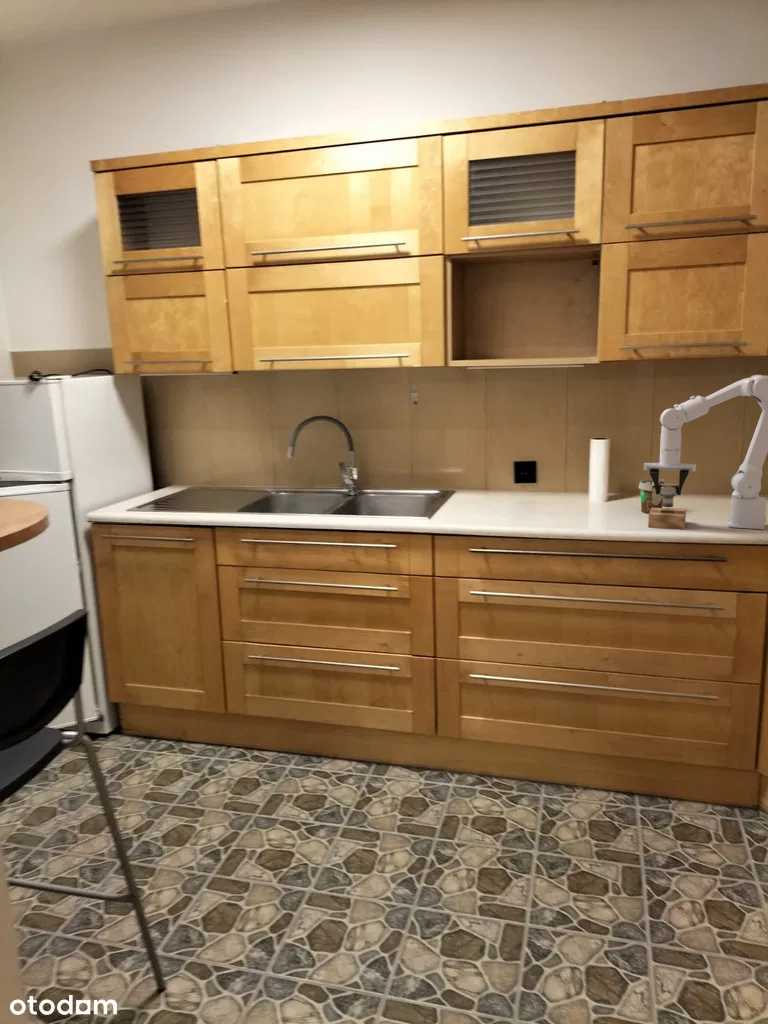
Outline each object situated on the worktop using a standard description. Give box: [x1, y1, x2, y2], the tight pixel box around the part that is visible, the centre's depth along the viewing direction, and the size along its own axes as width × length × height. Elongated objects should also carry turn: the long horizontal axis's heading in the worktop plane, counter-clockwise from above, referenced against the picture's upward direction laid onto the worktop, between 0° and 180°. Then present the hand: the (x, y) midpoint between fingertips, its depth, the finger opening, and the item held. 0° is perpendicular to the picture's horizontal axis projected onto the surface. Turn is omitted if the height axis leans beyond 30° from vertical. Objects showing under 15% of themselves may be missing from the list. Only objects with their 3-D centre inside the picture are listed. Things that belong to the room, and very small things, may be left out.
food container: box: [638, 478, 666, 515], centre depth 244 cm, size 12×6×10 cm, turn 141°
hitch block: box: [647, 507, 687, 530], centre depth 225 cm, size 10×10×4 cm
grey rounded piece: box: [658, 482, 679, 508], centre depth 223 cm, size 6×6×6 cm
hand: (668, 494), depth 223 cm, fingers closed on grey rounded piece, 6 cm apart
